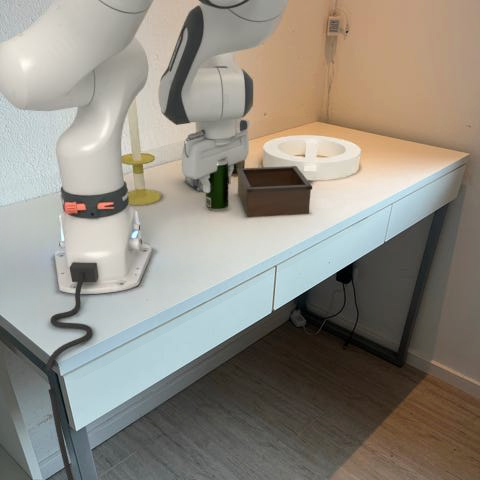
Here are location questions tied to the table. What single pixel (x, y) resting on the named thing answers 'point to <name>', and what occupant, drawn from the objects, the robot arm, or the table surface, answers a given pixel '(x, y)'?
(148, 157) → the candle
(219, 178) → the beer can
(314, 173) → the white circle with bar
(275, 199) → the brown open box
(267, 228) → the table surface
